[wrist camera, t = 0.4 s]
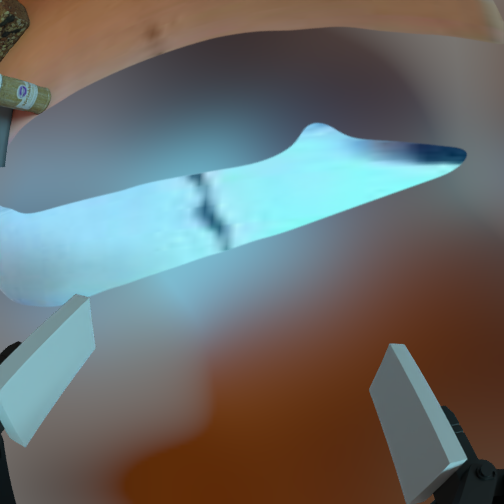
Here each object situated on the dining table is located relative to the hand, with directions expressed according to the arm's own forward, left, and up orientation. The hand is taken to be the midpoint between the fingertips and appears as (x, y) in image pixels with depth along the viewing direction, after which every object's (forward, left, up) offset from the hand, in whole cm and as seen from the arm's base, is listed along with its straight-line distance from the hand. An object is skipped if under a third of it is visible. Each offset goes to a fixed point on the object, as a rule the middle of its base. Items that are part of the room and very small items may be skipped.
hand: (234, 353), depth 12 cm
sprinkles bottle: (-18, -38, -26) cm, 50 cm away
